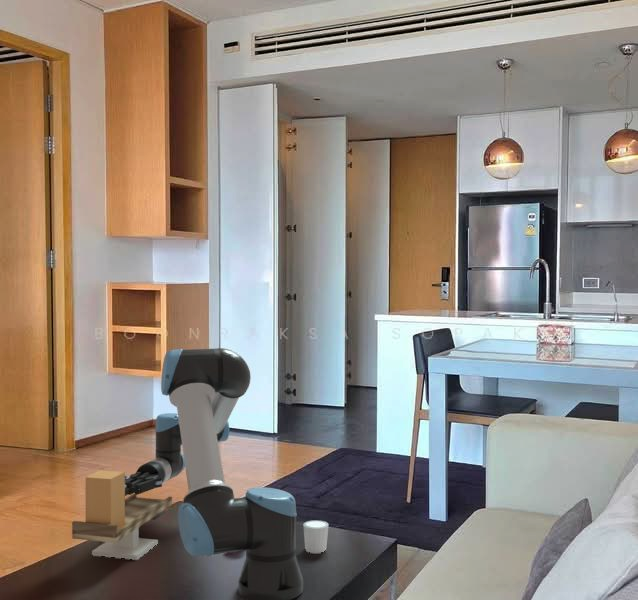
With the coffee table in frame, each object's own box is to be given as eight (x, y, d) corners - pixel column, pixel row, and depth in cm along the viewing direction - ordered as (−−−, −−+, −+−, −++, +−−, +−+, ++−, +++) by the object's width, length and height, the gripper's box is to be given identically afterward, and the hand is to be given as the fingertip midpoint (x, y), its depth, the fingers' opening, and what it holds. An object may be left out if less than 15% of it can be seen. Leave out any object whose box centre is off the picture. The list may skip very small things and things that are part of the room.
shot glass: (332, 552, 194) (332, 526, 194) (307, 555, 191) (308, 529, 191) (323, 543, 200) (323, 518, 200) (299, 546, 198) (299, 521, 198)
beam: (115, 553, 178) (115, 525, 177) (72, 548, 180) (72, 521, 180) (171, 513, 209) (172, 489, 209) (134, 510, 211) (134, 486, 211)
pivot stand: (137, 560, 187) (137, 537, 187) (91, 555, 190) (91, 532, 190) (157, 544, 199) (157, 522, 199) (115, 540, 202) (115, 518, 202)
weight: (110, 535, 179) (110, 479, 179) (85, 532, 181) (85, 477, 181) (124, 526, 186) (124, 472, 186) (100, 523, 188) (100, 470, 188)
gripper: (174, 488, 209) (134, 513, 186) (132, 485, 212) (89, 509, 189) (174, 462, 209) (134, 484, 186) (132, 459, 212) (89, 480, 189)
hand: (111, 496), depth 187 cm, fingers closed
